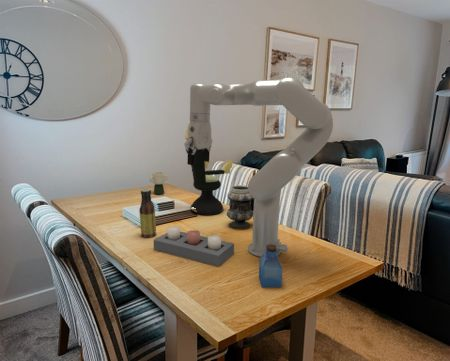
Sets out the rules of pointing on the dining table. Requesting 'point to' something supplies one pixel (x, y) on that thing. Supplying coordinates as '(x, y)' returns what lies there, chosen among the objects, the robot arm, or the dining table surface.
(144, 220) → the sauce bottle
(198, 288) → the dining table surface
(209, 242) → the near knob
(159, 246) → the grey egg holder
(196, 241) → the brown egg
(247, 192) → the apothecary jar
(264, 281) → the perfume bottle
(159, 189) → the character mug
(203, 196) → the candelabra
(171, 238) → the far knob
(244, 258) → the dining table surface
